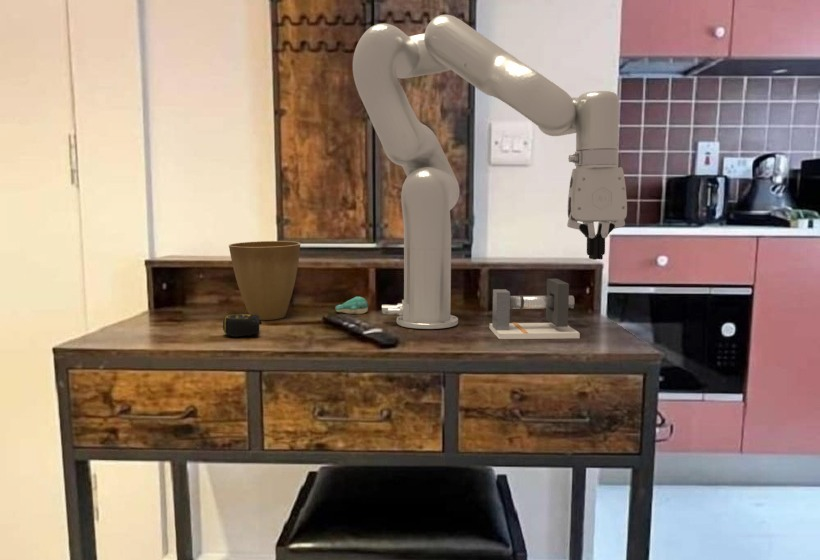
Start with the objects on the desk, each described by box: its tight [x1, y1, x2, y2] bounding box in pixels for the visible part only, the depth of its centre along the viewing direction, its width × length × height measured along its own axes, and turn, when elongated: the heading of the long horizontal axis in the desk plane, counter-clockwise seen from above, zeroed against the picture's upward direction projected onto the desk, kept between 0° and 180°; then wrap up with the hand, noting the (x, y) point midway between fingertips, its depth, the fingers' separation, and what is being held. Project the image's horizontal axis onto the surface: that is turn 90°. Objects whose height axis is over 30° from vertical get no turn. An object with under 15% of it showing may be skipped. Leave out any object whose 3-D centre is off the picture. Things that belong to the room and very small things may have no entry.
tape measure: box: [222, 313, 262, 337], centre depth 123 cm, size 7×7×4 cm
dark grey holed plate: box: [545, 278, 570, 327], centre depth 125 cm, size 2×8×8 cm, turn 3°
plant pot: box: [228, 240, 301, 321], centre depth 140 cm, size 15×15×16 cm
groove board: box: [489, 322, 581, 340], centre depth 125 cm, size 15×10×1 cm, turn 93°
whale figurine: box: [334, 296, 369, 315], centre depth 147 cm, size 6×7×4 cm
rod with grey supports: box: [491, 288, 575, 330], centre depth 125 cm, size 15×4×7 cm, turn 93°
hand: (595, 258), depth 124 cm, fingers closed
